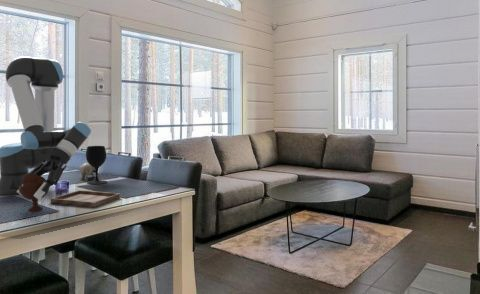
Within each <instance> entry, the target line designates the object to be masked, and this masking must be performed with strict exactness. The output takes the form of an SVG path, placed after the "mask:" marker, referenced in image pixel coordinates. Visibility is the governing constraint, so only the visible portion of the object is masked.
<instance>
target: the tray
mask: <svg viewBox="0 0 480 294" xmlns="http://www.w3.org/2000/svg"><path fill="white" fill-rule="evenodd" d="M120 199H121V193H119V192H118V193H117V192H107V191H105V192H104V191H94V190H85V189H84V190H83V189H82V190H81V189H79V190H75V191H72V192H69V193H65V194H62V195H61V194H60V195H58V196H54V197H51V198H50V204H51V205H61V206H71V207H81V208H91V209H95V208H99V207H101V206H103V205H105V204H108V203H112V202H114V201H117V200H120Z"/></svg>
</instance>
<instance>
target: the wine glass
mask: <svg viewBox="0 0 480 294" xmlns="http://www.w3.org/2000/svg"><path fill="white" fill-rule="evenodd" d="M106 150H107V149H106V147H105V146H104V145H89V146H87V148H86V151H85V158H86V161H87V162H88V163H89V164H90V165H91V166H92V167H94V168H95V170H94V171H95V179H94V180H90V181H89V180H88V181H87V182H86V184H87V185H92V186H93V185H103V184H106V183H107V182H108V181H107V180H102V179H99V176H98V175H99V174H98V173H99V172H98V171H99V168H100V167H102V165H103V164H104V163H105V162H106V159H107V151H106ZM87 162H86V163H87Z"/></svg>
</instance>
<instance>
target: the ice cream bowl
mask: <svg viewBox="0 0 480 294" xmlns="http://www.w3.org/2000/svg"><path fill="white" fill-rule="evenodd" d="M46 180H47V179H46V178H45V177H43V176H38V175H37V174H35V173H30V172H28V173H27V174H26V175H24V177H23V180H22V181H23V186H20V187H19V192H20V193H21V195H22V196H21V195H20V196H21V197H23V198H25V199H26V200H29V201H32V206H31V207H29V208H28V209H27V212H30V213H31V212H33V213H36V212H41V211H43V210H44V207H42V206H40V205H39V203H38V202H39V200H38V199H37V198H36V197H34V196H33V195H34V194H35V193H36V192H37V191H38V189H39V188H40V187H41V186H42V184H43V183H44V182H46ZM46 183H47V182H46ZM49 190H50V188H49V189H48V190H47V191H46V192H45V194H44V195H43V196H42V197H41V199H43V198H44V197H45V196H47V194H48V193H49Z"/></svg>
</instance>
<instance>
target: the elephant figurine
mask: <svg viewBox="0 0 480 294" xmlns="http://www.w3.org/2000/svg"><path fill="white" fill-rule="evenodd" d="M78 170H79V172H80V174H81V176H80V180H84V181H87V182H89V180H88V177H90V176H91V177H92V178H94V176H95V175H94V173H93V172H94V171H95V168H94V167H92V166H91V165H90V164H89V163H88V162H84V163H83V164H81V165H80V166H79V169H78Z"/></svg>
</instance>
